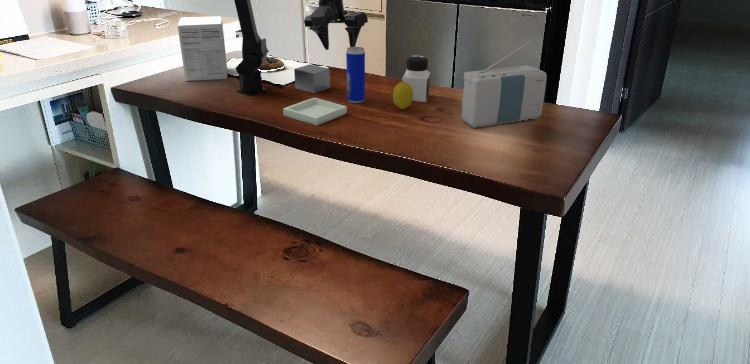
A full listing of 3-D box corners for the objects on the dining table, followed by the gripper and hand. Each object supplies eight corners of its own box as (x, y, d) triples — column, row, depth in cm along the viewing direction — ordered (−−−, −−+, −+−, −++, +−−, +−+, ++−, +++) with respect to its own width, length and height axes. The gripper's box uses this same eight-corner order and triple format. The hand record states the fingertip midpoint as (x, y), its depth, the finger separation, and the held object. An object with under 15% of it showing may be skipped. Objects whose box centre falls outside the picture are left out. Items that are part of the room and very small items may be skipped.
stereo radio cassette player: (473, 131, 142) (480, 52, 133) (457, 120, 148) (463, 44, 139) (542, 121, 148) (553, 45, 140) (523, 111, 155) (533, 38, 146)
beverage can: (346, 97, 164) (345, 46, 158) (364, 97, 165) (364, 46, 158) (347, 103, 160) (346, 50, 153) (365, 103, 160) (365, 50, 153)
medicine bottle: (426, 102, 161) (428, 61, 156) (401, 100, 163) (403, 59, 157) (429, 95, 168) (431, 54, 162) (405, 93, 169) (406, 53, 163)
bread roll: (250, 73, 187) (249, 57, 185) (254, 68, 197) (253, 54, 196) (284, 73, 188) (284, 58, 186) (286, 69, 199) (286, 55, 197)
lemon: (415, 108, 157) (416, 80, 153) (408, 114, 152) (409, 85, 149) (397, 105, 159) (397, 77, 155) (389, 111, 154) (389, 82, 151)
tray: (283, 115, 150) (283, 108, 150) (314, 104, 159) (314, 97, 158) (316, 125, 144) (316, 118, 143) (346, 113, 152) (346, 106, 152)
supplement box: (227, 79, 181) (221, 23, 173) (185, 81, 178) (176, 25, 170) (227, 68, 192) (222, 15, 184) (187, 70, 189) (180, 17, 182)
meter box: (295, 88, 172) (294, 68, 170) (311, 82, 178) (310, 64, 175) (314, 93, 168) (313, 73, 165) (330, 87, 173) (330, 68, 171)
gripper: (287, 0, 155) (297, 56, 162) (341, -2, 145) (350, 58, 152) (311, -7, 163) (320, 46, 170) (365, -10, 153) (372, 47, 160)
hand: (339, 50), depth 163 cm, fingers open, 9 cm apart
